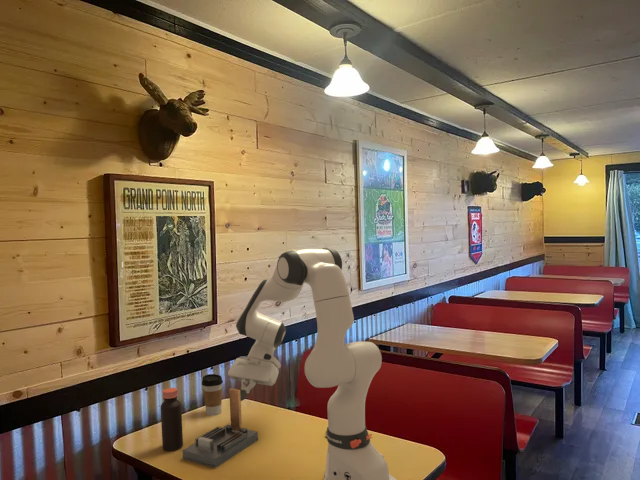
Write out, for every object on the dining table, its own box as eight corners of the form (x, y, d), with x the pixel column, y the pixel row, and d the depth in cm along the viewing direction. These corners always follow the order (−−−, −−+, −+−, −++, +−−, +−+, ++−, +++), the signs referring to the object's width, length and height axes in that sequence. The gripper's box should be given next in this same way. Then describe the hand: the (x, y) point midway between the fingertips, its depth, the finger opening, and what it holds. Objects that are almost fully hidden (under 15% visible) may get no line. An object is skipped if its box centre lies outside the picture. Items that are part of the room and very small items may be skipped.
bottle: (170, 441, 173) (168, 386, 173) (187, 443, 171) (184, 387, 170) (158, 450, 167) (155, 392, 166) (175, 452, 165) (172, 394, 164)
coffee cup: (214, 407, 205) (212, 372, 204) (228, 411, 200) (226, 375, 199) (198, 414, 198) (197, 377, 197) (213, 418, 193) (211, 381, 192)
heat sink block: (227, 432, 179) (226, 415, 179) (257, 440, 172) (257, 421, 172) (182, 459, 160) (181, 439, 160) (215, 468, 153) (214, 447, 153)
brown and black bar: (238, 425, 177) (236, 385, 176) (247, 427, 175) (245, 387, 174) (231, 430, 173) (229, 389, 173) (239, 432, 171) (238, 390, 171)
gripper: (233, 351, 188) (217, 384, 180) (277, 357, 177) (262, 392, 169) (241, 360, 192) (226, 392, 184) (284, 365, 181) (270, 400, 173)
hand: (244, 392), depth 176 cm, fingers closed
